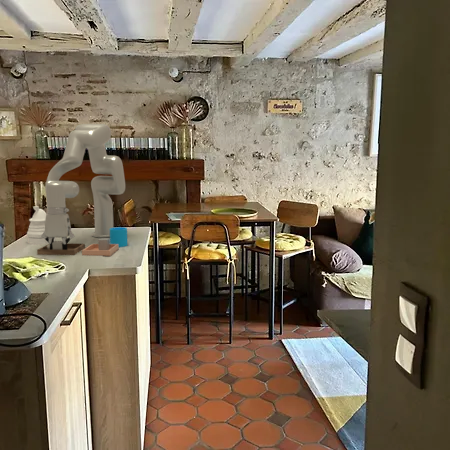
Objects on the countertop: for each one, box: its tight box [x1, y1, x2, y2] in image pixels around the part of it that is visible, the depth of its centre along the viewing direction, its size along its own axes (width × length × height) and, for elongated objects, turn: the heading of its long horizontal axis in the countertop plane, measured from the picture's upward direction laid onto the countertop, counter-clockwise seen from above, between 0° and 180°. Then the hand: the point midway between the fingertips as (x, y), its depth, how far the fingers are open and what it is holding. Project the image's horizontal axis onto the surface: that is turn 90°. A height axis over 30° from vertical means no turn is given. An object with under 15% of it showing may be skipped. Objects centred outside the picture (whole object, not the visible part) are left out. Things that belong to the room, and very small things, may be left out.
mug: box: [109, 226, 128, 248], centre depth 218 cm, size 12×8×8 cm
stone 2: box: [97, 237, 110, 250], centre depth 204 cm, size 4×4×5 cm
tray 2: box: [81, 243, 120, 257], centre depth 201 cm, size 14×12×2 cm
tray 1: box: [36, 242, 86, 256], centre depth 201 cm, size 14×16×2 cm
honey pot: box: [26, 205, 57, 245], centre depth 220 cm, size 13×13×18 cm
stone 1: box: [52, 240, 63, 250], centre depth 198 cm, size 4×4×5 cm
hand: (58, 252), depth 198 cm, fingers closed on stone 1, 4 cm apart
